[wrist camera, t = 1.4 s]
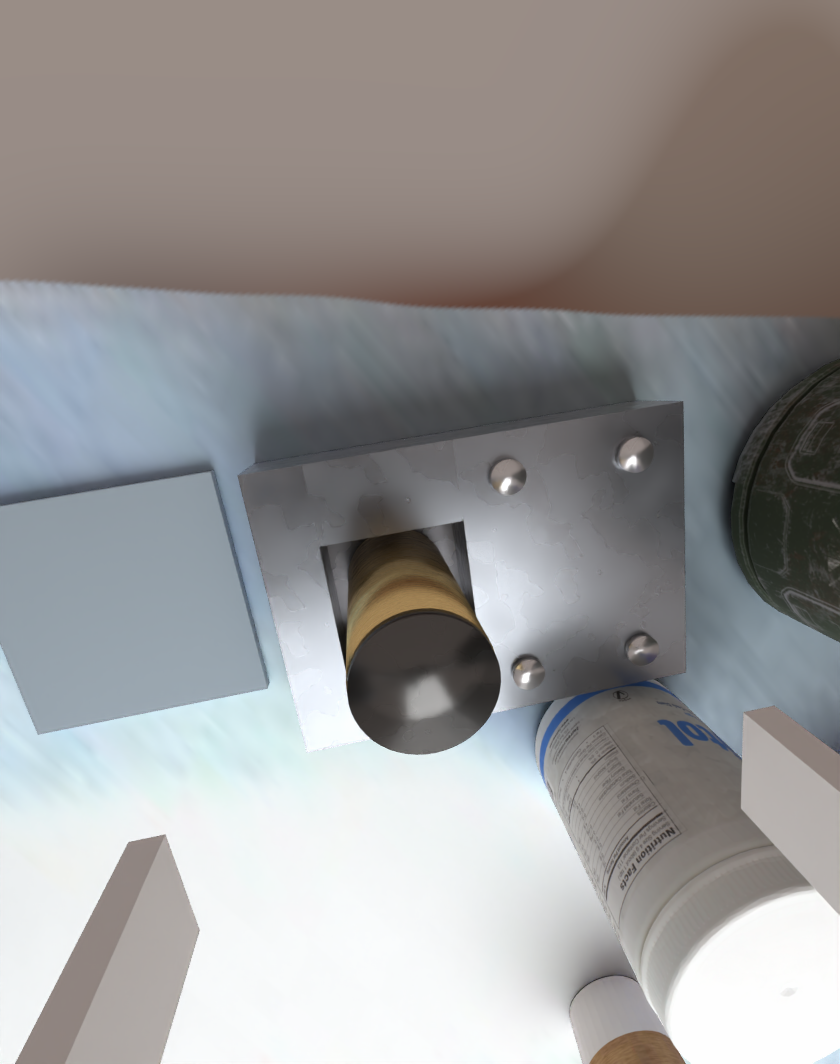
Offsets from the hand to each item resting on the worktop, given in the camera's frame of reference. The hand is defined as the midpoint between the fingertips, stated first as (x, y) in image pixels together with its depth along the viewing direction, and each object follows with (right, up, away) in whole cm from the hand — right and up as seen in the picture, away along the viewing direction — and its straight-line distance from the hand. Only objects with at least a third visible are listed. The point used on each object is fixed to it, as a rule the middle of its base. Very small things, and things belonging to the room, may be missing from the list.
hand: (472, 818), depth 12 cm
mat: (-16, +3, +15) cm, 22 cm away
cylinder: (-2, +4, +16) cm, 17 cm away
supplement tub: (+10, -6, +21) cm, 24 cm away
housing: (+1, +5, +17) cm, 17 cm away
